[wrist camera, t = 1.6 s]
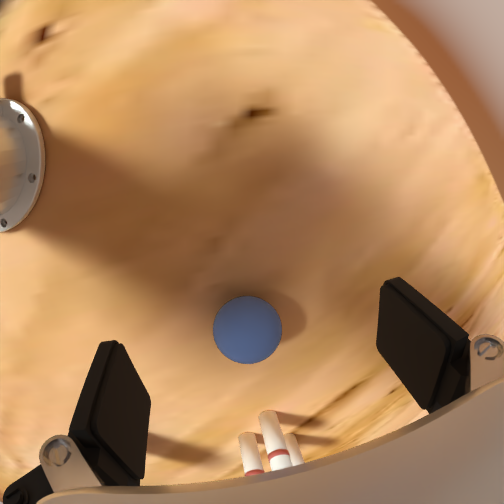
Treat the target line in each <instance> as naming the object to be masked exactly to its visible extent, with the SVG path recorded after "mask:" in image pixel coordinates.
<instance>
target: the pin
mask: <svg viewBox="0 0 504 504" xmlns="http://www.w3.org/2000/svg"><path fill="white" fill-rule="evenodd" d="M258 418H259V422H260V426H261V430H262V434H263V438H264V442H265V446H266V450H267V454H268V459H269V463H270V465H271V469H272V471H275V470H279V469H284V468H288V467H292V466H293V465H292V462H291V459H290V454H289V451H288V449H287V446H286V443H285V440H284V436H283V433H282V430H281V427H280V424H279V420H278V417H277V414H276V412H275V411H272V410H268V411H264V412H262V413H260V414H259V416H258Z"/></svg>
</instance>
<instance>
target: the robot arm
mask: <svg viewBox="0 0 504 504" xmlns="http://www.w3.org/2000/svg"><path fill="white" fill-rule="evenodd" d="M24 118H25V119H24ZM44 172H45V147H44V140H43V136H42V132H41V129H40V127H39V124H38V122H37V120H36V118H35V117H34V115H33V114H32V112H31V111H30V110H29V109H28V108H27V107H26V106H25V105H23V104H22V103H20V102H18V101H16V100H12V99H6V98H0V232H5V231H7V230H9V229H11V228H13V227H15V226H16V225H18V224H19V223H21V222H22V221H23V220H24V219H25V218H26V217H27V216H28V214H29V213H30V211H31V210H32V208H33V207H34V205H35V203H36V201H37V198H38V196H39V194H40V190H41V187H42V184H43V178H44ZM35 176H36V178H35ZM468 336H469V334H468V333H467V332H466V331H464V330H463V329H462V328H461V327H460V326H459V325H458V324H456V323H455V322H454V321H453V320H452V319H451V318H449V317H448V316H447V315H446V314H445V313H443V312H442V311H441V310H440V309H439V308H438V307H436V306H435V305H434V304H433V303H431V302H430V301H429V300H428V299H427V298H425V297H424V296H423V295H422V294H420V293H419V292H418V291H417V290H416V289H414V288H413V287H412V286H411V285H409V284H408V283H407V282H406V281H404V280H403V279H402V278H400V277H396V278H393V279H390V280H386V281H385V282H384V284H383V286H381V288H380V301H379V316H378V329H377V340H376V346H377V349H378V351H379V353H380V354H381V355H382V357H383V358H384V359H385V360H386V362H387V363H388V364H389V366H390V367H391V368H392V370H393V371H394V372H395V374H396V375H397V376H398V378H399V379H400V380H401V382H402V383H403V384H404V386H405V387H406V388H407V390H408V391H409V392H410V394H411V395H412V396H413V398H414V399H415V400H416V402H417V403H418V405H419V406H420V407H421V408H422V409H423V410H425V409H426V410H427V411H428V413H429V415H427V416H425V417H423V418H421V419H419V420H417V421H415V422H413V423H411V424H409V425H406V426H404V427H402V428H400V429H398V430H396V431H393V432H391V433H389V434H386V435H384V436H382V437H379V438H377V439H374V440H372V441H369V442H367V443H364V444H361V445H359V446H356V447H353V448H351V449H348V450H345V451H342V452H339V453H336V454H333V455H330V456H327V457H324V458H320V459H317V460H314V461H310V462H307V463H303V464H299V465H296V466H292V467H288V468H284V469H279V470H275V471H270V472H266V473H261V474H256V475H250V476H245V477H239V478H233V479H226V480H219V481H211V482H202V483H191V484H178V485H160V486H140V479H143V478H144V474H145V460H146V447H147V436H148V426H149V416H150V408H151V400H150V396H149V394H148V392H147V390H146V388H145V386H144V385H143V383H142V381H141V379H140V377H139V375H138V373H137V371H136V369H135V368H134V366H133V364H132V362H131V360H130V358H129V356H128V353H127V351H126V349H125V347H124V345H123V344H121V343H120V344H119V343H118V342H117V341H116V340H112V341H105V342H101V343H100V344H99V347H98V349H97V352H96V354H95V357H94V359H93V362H92V364H91V367H90V370H89V372H88V375H87V378H86V380H85V383H84V386H83V389H82V391H81V394H80V397H79V400H78V403H77V406H76V409H75V412H74V415H73V418H72V421H71V424H70V428H69V433H68V436H66V435H56V436H53V437H51V438H49V439H48V440H47V441H45V443H44V444H43V445H42V447H41V449H40V452H39V459H40V463H41V464H40V465H39V466H37V467H36V468H35V469H33V470H32V471H30V472H29V473H27V474H26V475H24V476H23V477H21V478H20V479H18V480H17V481H15V482H14V483H12V484H11V485H10V486H8V487H7V489H6V490H5V492H4V495H3V504H504V342H503V341H502V340H501V339H499V338H498V337H496V336H493V335H488V334H484V335H479V336H476V337H475V338H474V339H473V340H472V341H470V340H469V339H468Z"/></svg>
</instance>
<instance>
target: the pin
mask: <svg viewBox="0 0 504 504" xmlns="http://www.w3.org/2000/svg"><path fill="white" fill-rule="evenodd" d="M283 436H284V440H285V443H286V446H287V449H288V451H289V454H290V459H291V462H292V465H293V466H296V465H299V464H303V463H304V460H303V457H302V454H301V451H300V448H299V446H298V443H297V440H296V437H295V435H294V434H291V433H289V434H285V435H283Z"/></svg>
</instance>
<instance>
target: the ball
mask: <svg viewBox="0 0 504 504" xmlns="http://www.w3.org/2000/svg"><path fill="white" fill-rule="evenodd" d="M281 335H282V325H281V321H280V318H279V315H278V314H277V312H276V310H275V309H274V308H273V307H272V306H271V305H270V304H269V303H268V302H266V301H264V300H262V299H260V298H257V297H253V296H242V297H237V298H234V299H232V300H230V301H229V302H227V303H226V304H225V305H224V306H222V308H221V309H220V310H219V312H218V313H217V315H216V317H215V320H214V324H213V336H214V340H215V343H216V345H217V347H218V348H219V350H220V351H221V352H222V353H223V354H224V355H225V356H226V357H227V358H229V359H231V360H233V361H235V362H238V363H243V364H253V363H257V362H260V361H262V360H264V359H266V358H268V357H269V356H270V355H271V354H272V353H273V352H274V351H275V350H276V348H277V347H278V345H279V342H280V340H281Z"/></svg>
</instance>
